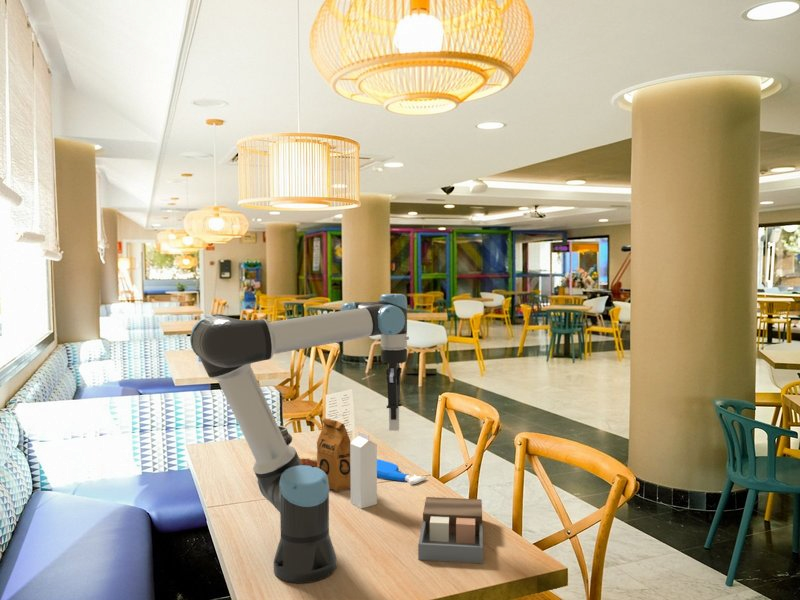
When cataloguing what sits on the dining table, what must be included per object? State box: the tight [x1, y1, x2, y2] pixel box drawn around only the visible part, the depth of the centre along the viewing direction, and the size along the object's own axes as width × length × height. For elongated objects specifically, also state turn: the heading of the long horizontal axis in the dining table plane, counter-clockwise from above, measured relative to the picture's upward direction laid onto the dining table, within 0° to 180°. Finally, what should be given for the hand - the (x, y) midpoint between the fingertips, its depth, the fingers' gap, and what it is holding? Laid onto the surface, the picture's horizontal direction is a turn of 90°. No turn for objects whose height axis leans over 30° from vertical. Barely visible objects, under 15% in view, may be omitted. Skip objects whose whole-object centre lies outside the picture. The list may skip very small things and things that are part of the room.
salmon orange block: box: [456, 518, 475, 544], centre depth 161 cm, size 5×5×4 cm
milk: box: [350, 431, 378, 509], centre depth 186 cm, size 6×6×22 cm
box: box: [417, 520, 484, 564], centre depth 157 cm, size 14×16×4 cm
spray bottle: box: [377, 458, 427, 486], centre depth 212 cm, size 3×11×24 cm
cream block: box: [430, 516, 449, 542], centre depth 162 cm, size 5×5×4 cm
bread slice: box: [296, 451, 317, 467], centre depth 227 cm, size 18×18×4 cm
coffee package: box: [316, 417, 352, 492], centre depth 202 cm, size 10×12×22 cm
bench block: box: [422, 496, 483, 536], centre depth 170 cm, size 12×16×6 cm
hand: (394, 429), depth 173 cm, fingers closed
